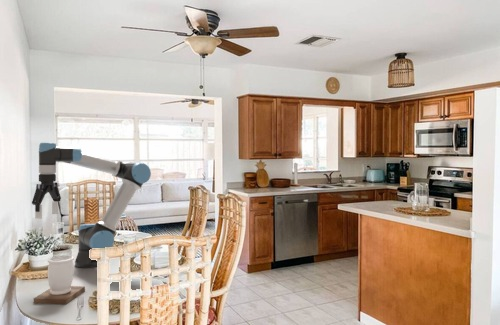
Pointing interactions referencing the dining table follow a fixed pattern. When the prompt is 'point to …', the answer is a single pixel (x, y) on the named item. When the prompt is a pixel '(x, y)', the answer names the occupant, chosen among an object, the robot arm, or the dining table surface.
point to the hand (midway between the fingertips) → (47, 216)
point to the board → (59, 296)
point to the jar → (60, 274)
